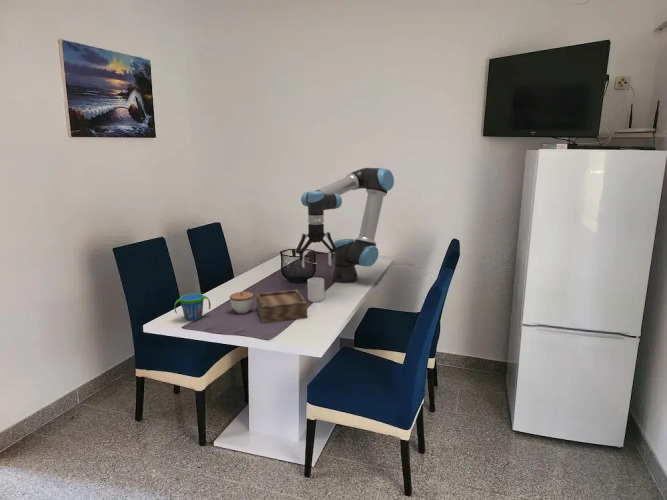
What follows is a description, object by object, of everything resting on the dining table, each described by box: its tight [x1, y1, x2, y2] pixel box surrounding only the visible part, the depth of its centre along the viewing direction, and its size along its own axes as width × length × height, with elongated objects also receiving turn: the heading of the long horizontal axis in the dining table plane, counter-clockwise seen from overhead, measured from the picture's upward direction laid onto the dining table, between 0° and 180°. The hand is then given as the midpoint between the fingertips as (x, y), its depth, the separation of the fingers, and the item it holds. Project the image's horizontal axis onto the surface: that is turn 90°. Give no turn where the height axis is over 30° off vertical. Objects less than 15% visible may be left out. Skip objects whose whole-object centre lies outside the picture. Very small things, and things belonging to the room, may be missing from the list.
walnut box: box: [255, 289, 308, 323], centre depth 222 cm, size 20×20×7 cm
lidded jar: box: [229, 291, 254, 314], centre depth 225 cm, size 11×11×9 cm
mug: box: [306, 277, 325, 303], centre depth 241 cm, size 12×8×10 cm
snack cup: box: [173, 292, 212, 322], centre depth 216 cm, size 16×10×10 cm
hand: (316, 265), depth 238 cm, fingers open, 13 cm apart
